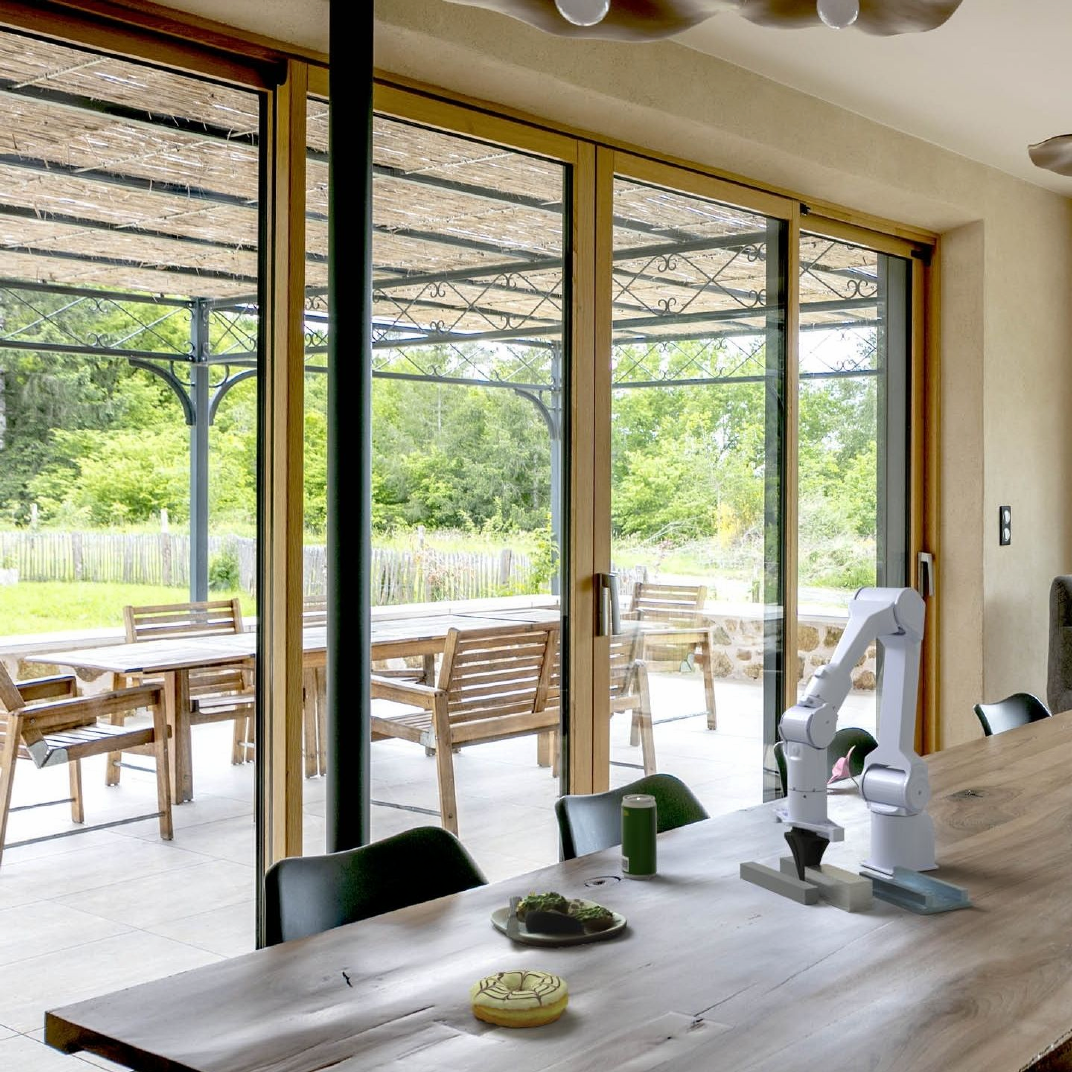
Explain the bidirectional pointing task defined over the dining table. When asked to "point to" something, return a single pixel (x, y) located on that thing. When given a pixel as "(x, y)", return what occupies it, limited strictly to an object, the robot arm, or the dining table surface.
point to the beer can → (639, 836)
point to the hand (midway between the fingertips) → (807, 880)
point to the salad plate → (557, 921)
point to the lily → (842, 769)
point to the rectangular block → (841, 887)
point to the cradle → (918, 891)
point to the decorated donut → (519, 998)
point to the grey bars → (781, 880)
